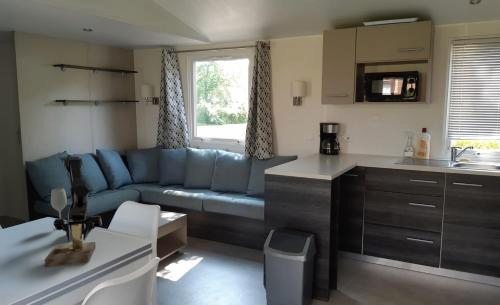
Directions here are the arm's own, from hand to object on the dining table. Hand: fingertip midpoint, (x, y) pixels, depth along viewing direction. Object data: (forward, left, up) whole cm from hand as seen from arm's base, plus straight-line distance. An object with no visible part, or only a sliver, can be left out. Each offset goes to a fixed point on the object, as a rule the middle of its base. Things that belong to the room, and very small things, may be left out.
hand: (76, 240), depth 156 cm
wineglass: (+14, -47, -8) cm, 50 cm away
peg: (0, -1, -7) cm, 8 cm away
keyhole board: (+3, -2, -7) cm, 8 cm away
